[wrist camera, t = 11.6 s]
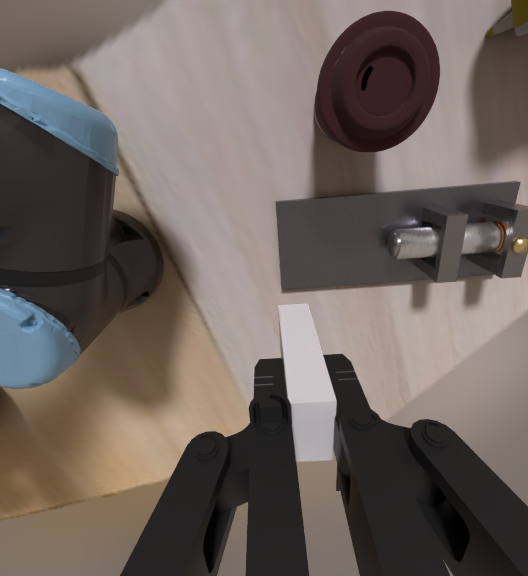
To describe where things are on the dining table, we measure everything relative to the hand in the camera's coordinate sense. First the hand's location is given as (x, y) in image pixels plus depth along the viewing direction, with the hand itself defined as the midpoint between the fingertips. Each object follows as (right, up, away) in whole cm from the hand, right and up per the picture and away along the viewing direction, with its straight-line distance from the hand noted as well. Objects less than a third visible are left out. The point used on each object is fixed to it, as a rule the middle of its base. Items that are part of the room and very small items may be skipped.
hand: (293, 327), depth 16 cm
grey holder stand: (+17, +9, +28) cm, 34 cm away
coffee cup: (+8, +24, +22) cm, 34 cm away
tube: (+25, +9, +27) cm, 38 cm away
